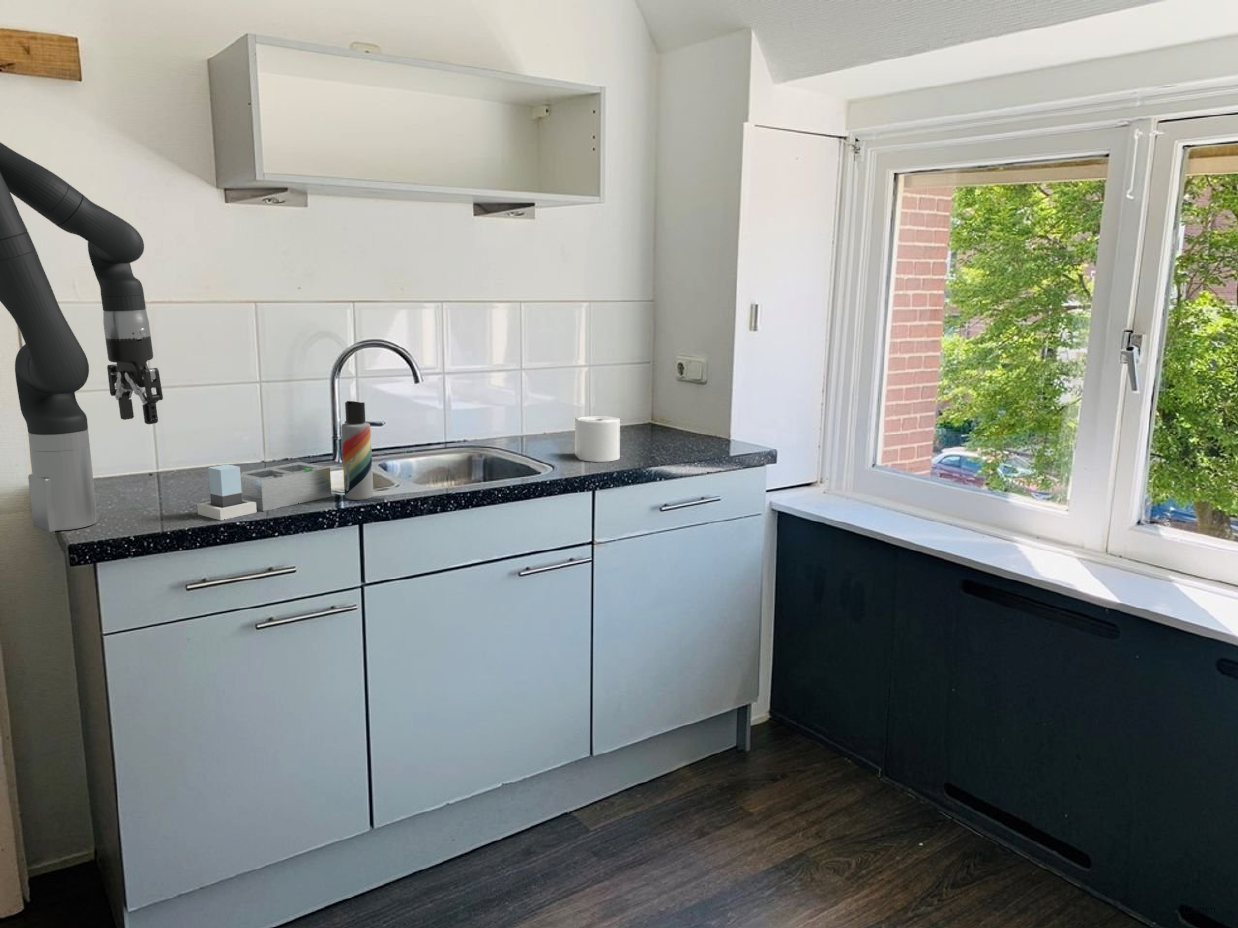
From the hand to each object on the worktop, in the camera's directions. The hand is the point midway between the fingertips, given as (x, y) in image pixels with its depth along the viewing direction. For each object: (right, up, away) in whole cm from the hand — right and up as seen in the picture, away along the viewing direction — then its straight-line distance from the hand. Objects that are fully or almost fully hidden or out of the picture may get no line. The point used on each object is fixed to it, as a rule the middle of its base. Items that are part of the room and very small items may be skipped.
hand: (139, 421), depth 178 cm
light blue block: (+16, -17, +2) cm, 24 cm away
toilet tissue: (+85, -7, +60) cm, 104 cm away
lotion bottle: (+37, -15, +16) cm, 43 cm away
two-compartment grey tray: (+23, -15, +13) cm, 30 cm away
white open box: (+16, -17, +2) cm, 24 cm away
